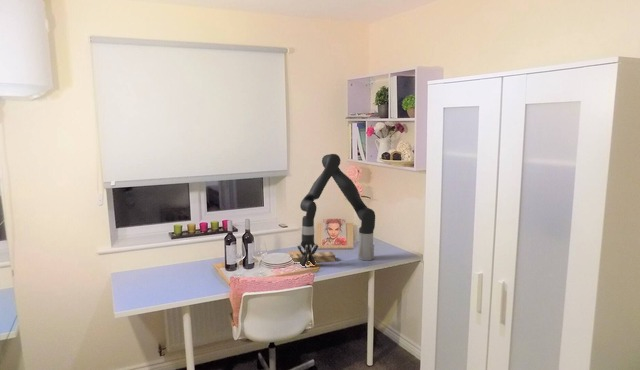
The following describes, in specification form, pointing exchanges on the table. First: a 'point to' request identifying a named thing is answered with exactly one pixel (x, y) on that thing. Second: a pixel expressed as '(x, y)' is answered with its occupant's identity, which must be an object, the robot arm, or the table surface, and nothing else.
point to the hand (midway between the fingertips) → (307, 260)
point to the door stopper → (304, 257)
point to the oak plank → (316, 257)
